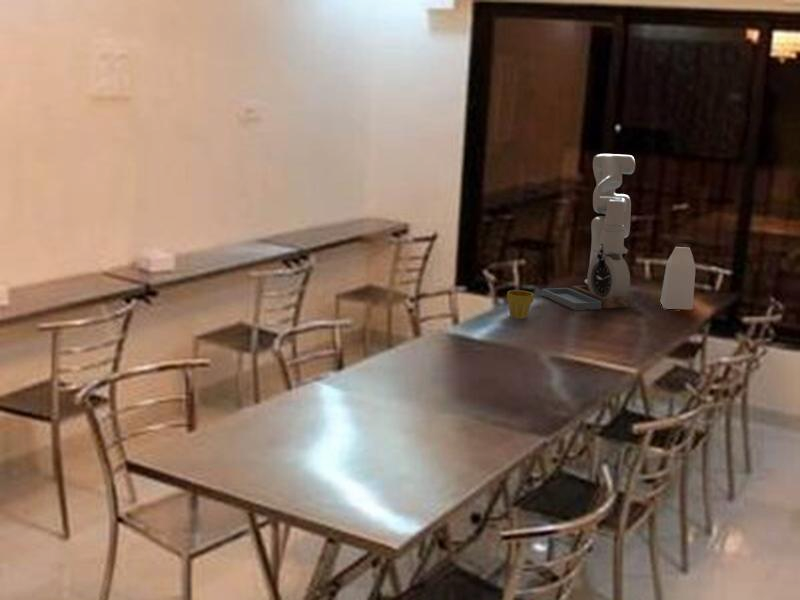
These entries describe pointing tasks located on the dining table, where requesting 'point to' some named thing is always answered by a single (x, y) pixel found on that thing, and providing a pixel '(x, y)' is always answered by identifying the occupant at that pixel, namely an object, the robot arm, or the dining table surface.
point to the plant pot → (519, 303)
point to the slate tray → (572, 298)
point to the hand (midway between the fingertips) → (609, 268)
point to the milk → (679, 280)
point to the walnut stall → (602, 298)
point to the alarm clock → (609, 277)
